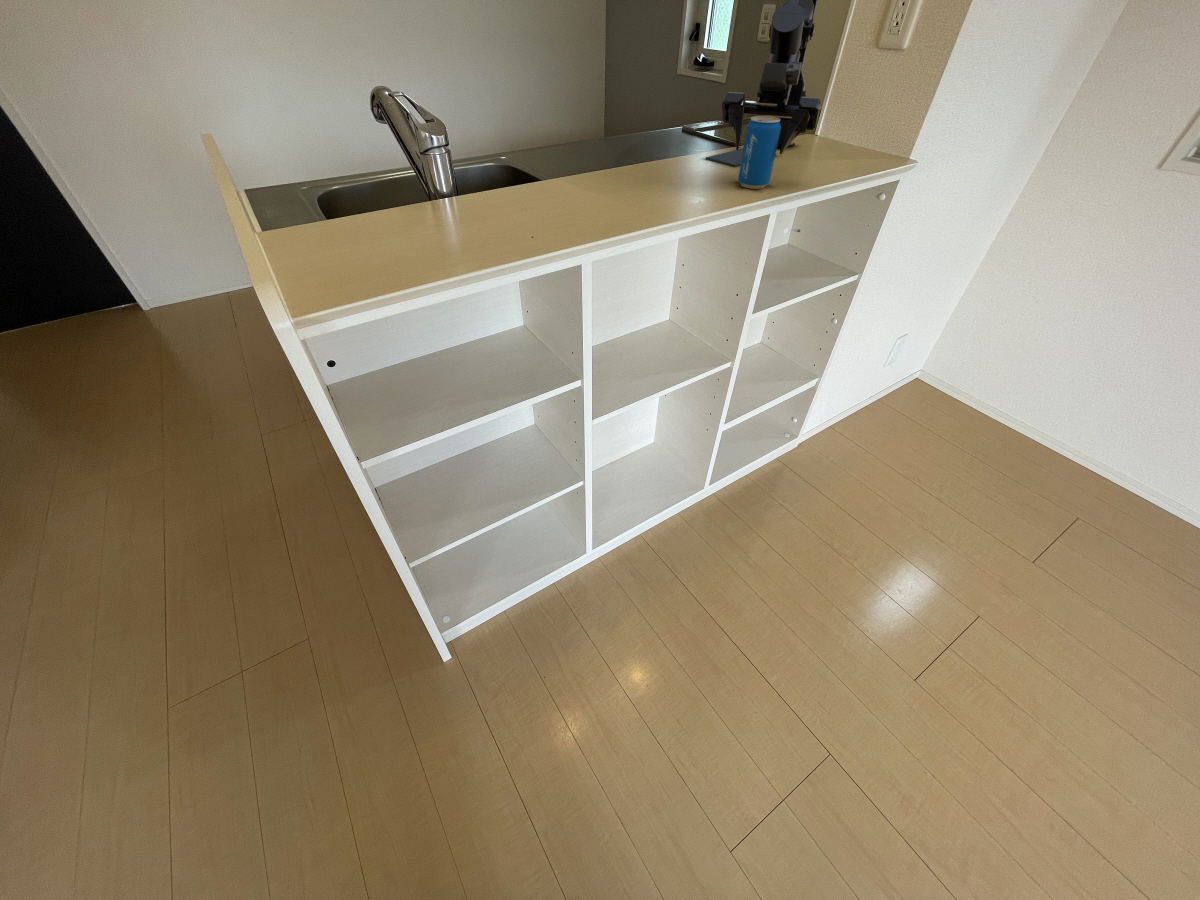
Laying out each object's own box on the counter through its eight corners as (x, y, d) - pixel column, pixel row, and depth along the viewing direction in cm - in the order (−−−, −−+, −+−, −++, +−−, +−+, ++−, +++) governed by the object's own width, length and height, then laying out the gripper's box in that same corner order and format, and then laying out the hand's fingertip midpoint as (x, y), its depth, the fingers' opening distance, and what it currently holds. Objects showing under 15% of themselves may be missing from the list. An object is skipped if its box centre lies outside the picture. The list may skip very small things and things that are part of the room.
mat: (746, 149, 130) (747, 147, 130) (775, 156, 125) (776, 154, 125) (705, 159, 123) (705, 157, 123) (734, 166, 118) (735, 164, 118)
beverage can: (730, 184, 107) (741, 117, 99) (751, 179, 110) (763, 114, 102) (754, 191, 103) (768, 123, 95) (774, 186, 106) (789, 119, 98)
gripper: (732, 40, 96) (710, 118, 96) (835, 44, 91) (812, 127, 91) (733, 85, 107) (713, 156, 107) (825, 91, 102) (804, 165, 102)
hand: (758, 150), depth 101 cm, fingers open, 8 cm apart
